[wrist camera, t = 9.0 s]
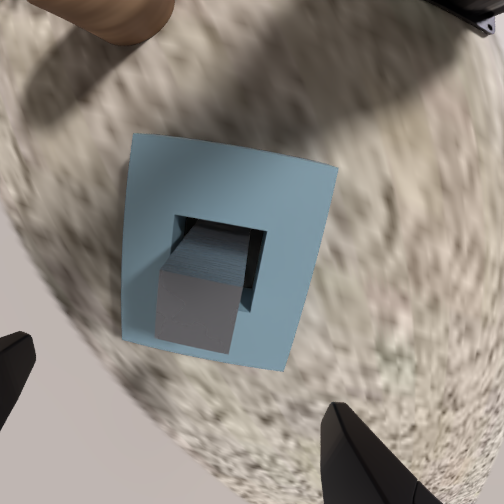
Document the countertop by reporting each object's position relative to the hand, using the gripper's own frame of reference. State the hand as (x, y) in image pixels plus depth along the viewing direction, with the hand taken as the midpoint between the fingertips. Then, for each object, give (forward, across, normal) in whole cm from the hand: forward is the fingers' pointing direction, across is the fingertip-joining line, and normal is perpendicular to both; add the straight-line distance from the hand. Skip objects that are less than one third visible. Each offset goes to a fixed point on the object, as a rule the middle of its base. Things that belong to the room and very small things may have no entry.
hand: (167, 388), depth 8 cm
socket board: (+12, 0, 0) cm, 12 cm away
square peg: (+12, 0, 0) cm, 12 cm away
